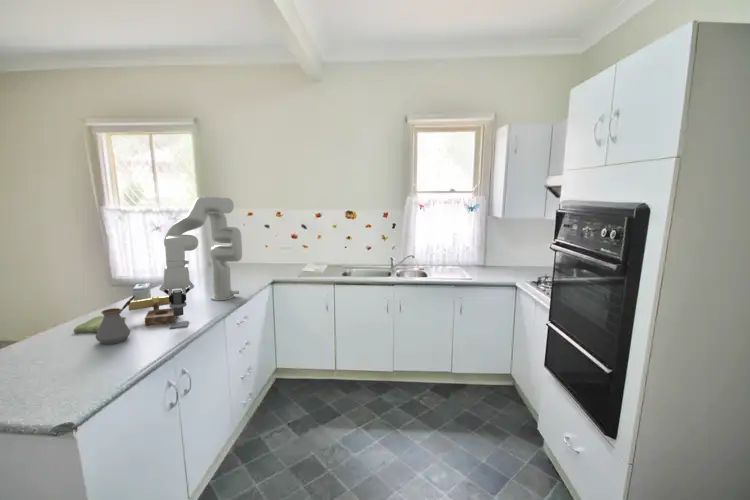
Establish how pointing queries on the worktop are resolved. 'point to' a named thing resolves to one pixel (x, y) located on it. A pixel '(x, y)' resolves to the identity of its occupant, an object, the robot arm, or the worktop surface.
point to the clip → (149, 303)
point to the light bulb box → (142, 291)
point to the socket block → (160, 317)
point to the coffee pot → (113, 326)
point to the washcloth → (91, 325)
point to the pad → (179, 324)
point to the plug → (177, 303)
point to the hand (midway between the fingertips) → (177, 302)
